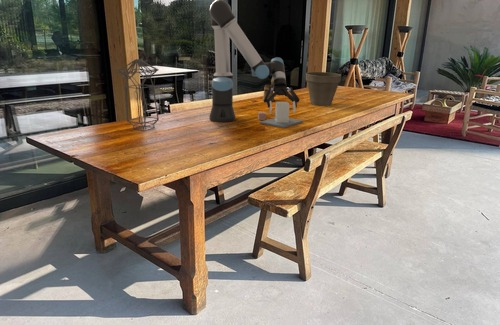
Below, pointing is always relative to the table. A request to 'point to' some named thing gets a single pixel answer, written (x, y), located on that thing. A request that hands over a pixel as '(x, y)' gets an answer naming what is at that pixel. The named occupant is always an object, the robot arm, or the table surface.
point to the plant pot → (322, 87)
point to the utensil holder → (267, 90)
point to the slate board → (281, 124)
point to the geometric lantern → (139, 90)
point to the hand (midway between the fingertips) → (283, 112)
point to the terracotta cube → (262, 115)
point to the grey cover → (282, 112)
